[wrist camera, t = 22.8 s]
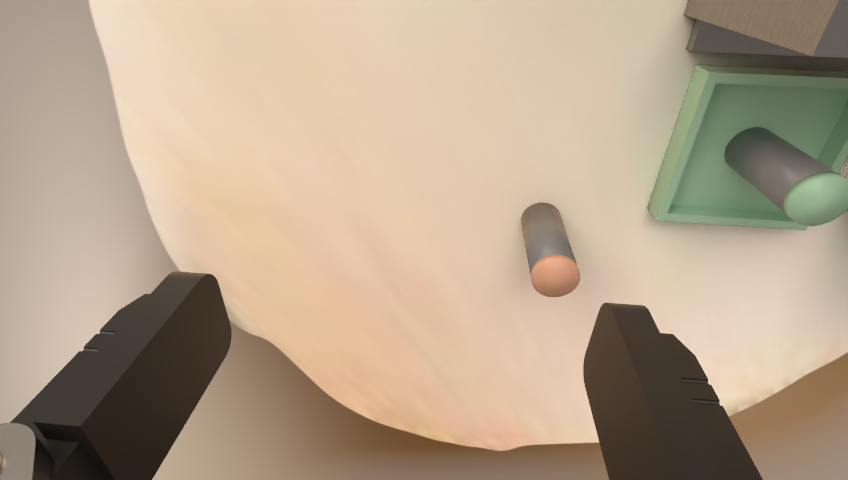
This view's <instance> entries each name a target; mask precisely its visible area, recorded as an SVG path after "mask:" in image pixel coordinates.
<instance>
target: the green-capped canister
mask: <svg viewBox="0 0 848 480" xmlns="http://www.w3.org/2000/svg"><path fill="white" fill-rule="evenodd" d="M724 156H725V161H726V163H727V164H728V165H729V166H730V167H731V168H733V169H734V170H735V171H736V172H737V173H738V174H740V175H741V176H742V177H743V178H744V179H746V180H747V181H748V182H749V183H750V184H751V185H753V186H754V187H755V188H756V189H757V190H758V191H760V192H761V193H762V194H763V195H764V196H765V197H767V198H768V199H769V200H770V201H771V202H772V203H774V204H775V205H776V206H777V207H778V208H780V209H781V210H782V211H783V212H784V213H785V214H787V215H788V216H789V217H790V218H791V219H792V220H794V221H795V222H796V223H798V224H800V225H804V226H816V225H821V224H825V223H827V222H830V221H832V220H834V219H836V218H837V217H839V216H840V215H841V214H843V213H844V212H845V211H846V210H847V209H848V179H846V178H845V177H843V176H842V175H840V174H838V173H837V172H835V171H833V170H832V169H830V168H829V167H827V166H825V165H824V164H822V163H821V162H819V161H817V160H816V159H814V158H813V157H811V156H809V155H808V154H806V153H804V152H803V151H801V150H800V149H798V148H796V147H795V146H793V145H792V144H790V143H788V142H787V141H785V140H784V139H782V138H780V137H779V136H777V135H776V134H774V133H772V132H771V131H769V130H767V129H765V128H761V127H753V128H749V129H746V130H744V131H742V132H740V133H738V134H737V135H736V136H734V137H733V138H732V139H731V140H730V142H729V143H728V145H727V147H726V149H725V154H724Z"/></svg>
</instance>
